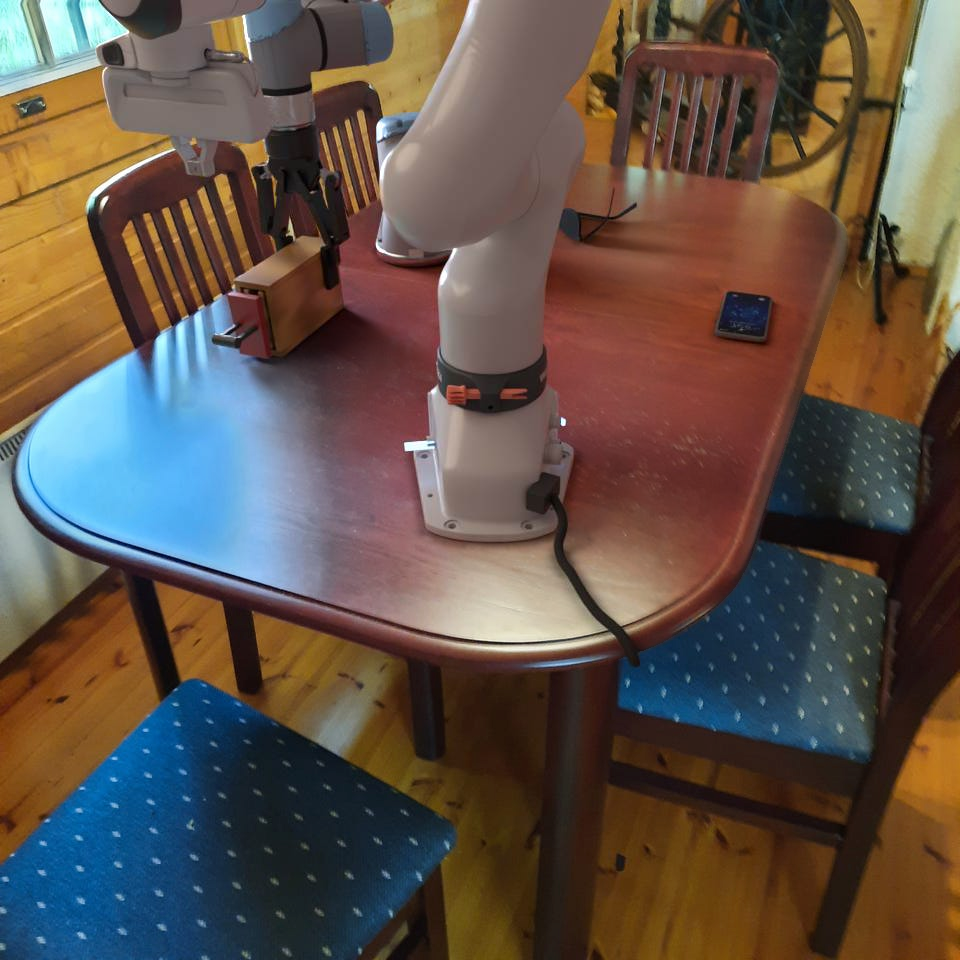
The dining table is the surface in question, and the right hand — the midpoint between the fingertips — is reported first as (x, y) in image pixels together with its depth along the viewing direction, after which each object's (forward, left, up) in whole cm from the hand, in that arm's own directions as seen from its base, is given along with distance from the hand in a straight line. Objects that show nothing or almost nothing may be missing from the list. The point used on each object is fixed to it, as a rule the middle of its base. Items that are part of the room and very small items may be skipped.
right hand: (201, 174), depth 103 cm
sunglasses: (+55, -52, -27) cm, 81 cm away
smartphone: (+15, -72, -27) cm, 78 cm away
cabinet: (+13, -5, -27) cm, 30 cm away
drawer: (+8, -3, -26) cm, 27 cm away
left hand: (+18, -7, -22) cm, 29 cm away
